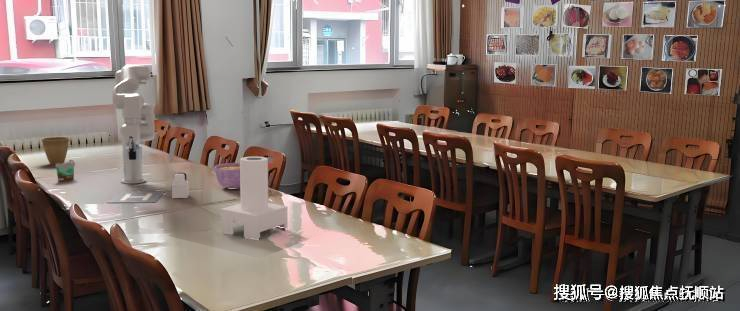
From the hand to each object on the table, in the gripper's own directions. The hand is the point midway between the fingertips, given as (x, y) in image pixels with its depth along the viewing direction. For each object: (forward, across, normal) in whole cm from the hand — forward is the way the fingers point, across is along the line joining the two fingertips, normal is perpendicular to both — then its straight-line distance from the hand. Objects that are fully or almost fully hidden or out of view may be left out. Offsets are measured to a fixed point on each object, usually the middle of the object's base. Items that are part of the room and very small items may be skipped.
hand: (134, 158), depth 317 cm
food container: (+20, -43, -45) cm, 65 cm away
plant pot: (+20, -90, -67) cm, 115 cm away
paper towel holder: (+20, +62, +61) cm, 89 cm away
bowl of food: (+20, -20, +45) cm, 53 cm away
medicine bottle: (+20, 0, +21) cm, 29 cm away
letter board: (+20, 0, 0) cm, 20 cm away
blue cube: (+1, 0, 0) cm, 1 cm away
